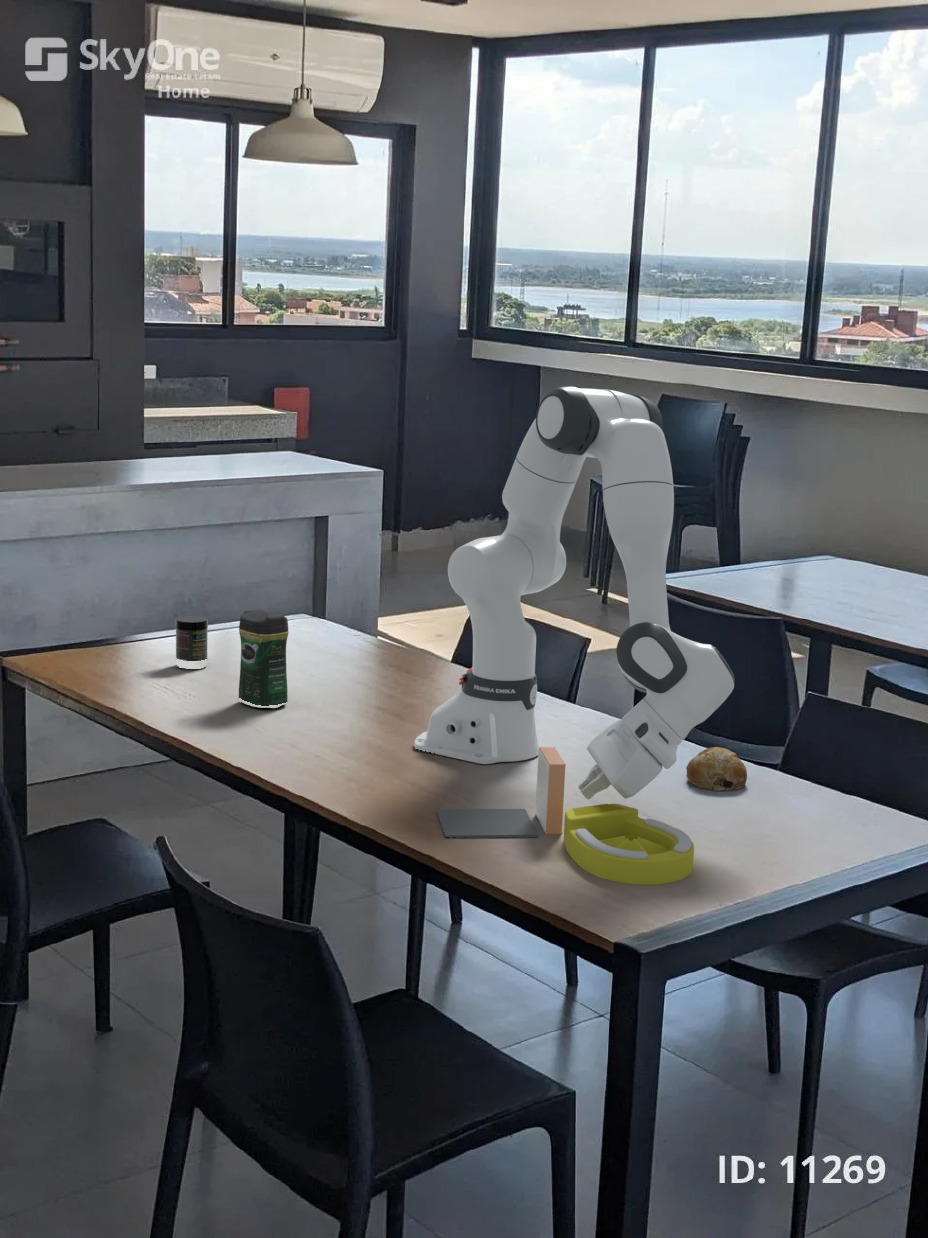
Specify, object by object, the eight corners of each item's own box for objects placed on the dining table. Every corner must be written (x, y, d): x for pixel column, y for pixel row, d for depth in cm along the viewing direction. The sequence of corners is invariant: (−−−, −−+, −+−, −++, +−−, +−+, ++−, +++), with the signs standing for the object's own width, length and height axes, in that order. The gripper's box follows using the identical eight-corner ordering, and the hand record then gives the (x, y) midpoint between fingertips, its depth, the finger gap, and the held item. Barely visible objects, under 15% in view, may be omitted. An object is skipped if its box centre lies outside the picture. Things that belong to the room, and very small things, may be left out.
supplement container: (213, 665, 328) (214, 618, 326) (196, 672, 322) (196, 623, 319) (187, 661, 330) (187, 614, 328) (169, 668, 324) (169, 619, 322)
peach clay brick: (551, 814, 240) (554, 747, 237) (561, 834, 231) (565, 764, 229) (535, 814, 239) (538, 747, 237) (545, 834, 230) (548, 764, 228)
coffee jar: (294, 706, 297) (296, 613, 294) (261, 712, 292) (262, 617, 288) (264, 696, 304) (265, 604, 300) (231, 702, 299) (232, 609, 295)
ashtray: (633, 830, 235) (635, 799, 234) (715, 876, 217) (718, 843, 216) (541, 844, 227) (542, 812, 226) (619, 893, 209) (621, 858, 208)
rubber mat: (525, 811, 241) (525, 808, 240) (537, 837, 229) (537, 834, 229) (436, 811, 239) (436, 809, 239) (445, 837, 227) (445, 835, 227)
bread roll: (693, 810, 256) (705, 775, 251) (673, 768, 264) (684, 734, 259) (747, 807, 259) (760, 772, 254) (726, 766, 266) (737, 731, 262)
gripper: (620, 700, 243) (556, 759, 244) (651, 736, 223) (582, 800, 224) (646, 728, 245) (582, 786, 246) (679, 766, 225) (610, 829, 226)
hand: (582, 793), depth 235 cm, fingers closed
